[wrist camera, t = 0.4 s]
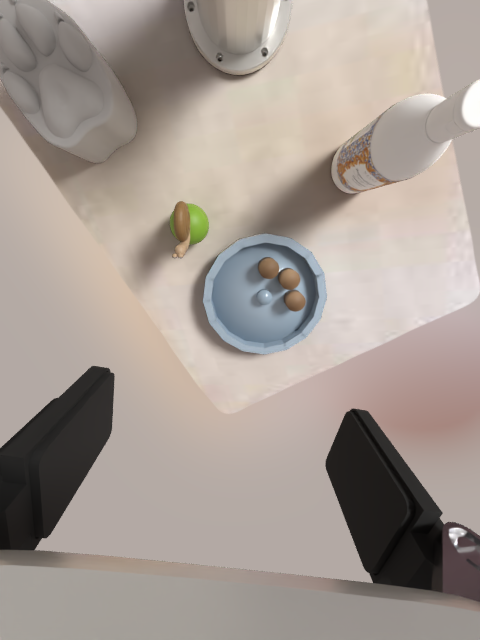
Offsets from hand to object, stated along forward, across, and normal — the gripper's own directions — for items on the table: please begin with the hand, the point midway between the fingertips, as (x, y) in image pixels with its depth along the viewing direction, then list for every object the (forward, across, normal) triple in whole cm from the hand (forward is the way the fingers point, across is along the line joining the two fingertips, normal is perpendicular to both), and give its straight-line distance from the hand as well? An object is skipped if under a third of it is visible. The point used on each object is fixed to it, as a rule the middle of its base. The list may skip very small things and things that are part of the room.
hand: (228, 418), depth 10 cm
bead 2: (+32, -8, -2) cm, 33 cm away
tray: (+33, -6, +2) cm, 34 cm away
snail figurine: (+33, +8, -6) cm, 35 cm away
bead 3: (+32, -10, +2) cm, 34 cm away
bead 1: (+32, -5, -3) cm, 33 cm away
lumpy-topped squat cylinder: (+33, +24, -19) cm, 45 cm away
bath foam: (+33, -14, -19) cm, 41 cm away
